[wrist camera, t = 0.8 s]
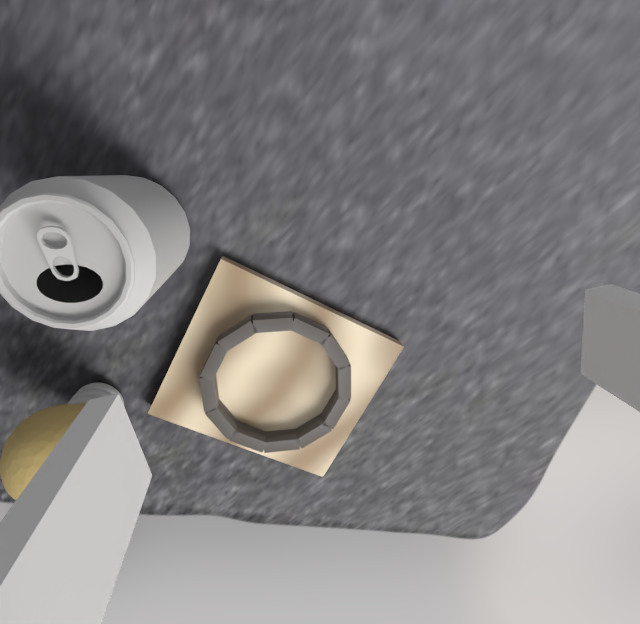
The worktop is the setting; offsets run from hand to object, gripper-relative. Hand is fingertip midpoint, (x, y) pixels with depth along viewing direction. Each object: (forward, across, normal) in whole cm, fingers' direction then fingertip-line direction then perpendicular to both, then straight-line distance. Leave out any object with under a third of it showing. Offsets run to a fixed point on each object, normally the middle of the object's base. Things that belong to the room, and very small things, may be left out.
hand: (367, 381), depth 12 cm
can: (+22, -11, +3) cm, 24 cm away
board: (+21, -4, -10) cm, 24 cm away
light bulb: (+21, -18, -9) cm, 29 cm away
